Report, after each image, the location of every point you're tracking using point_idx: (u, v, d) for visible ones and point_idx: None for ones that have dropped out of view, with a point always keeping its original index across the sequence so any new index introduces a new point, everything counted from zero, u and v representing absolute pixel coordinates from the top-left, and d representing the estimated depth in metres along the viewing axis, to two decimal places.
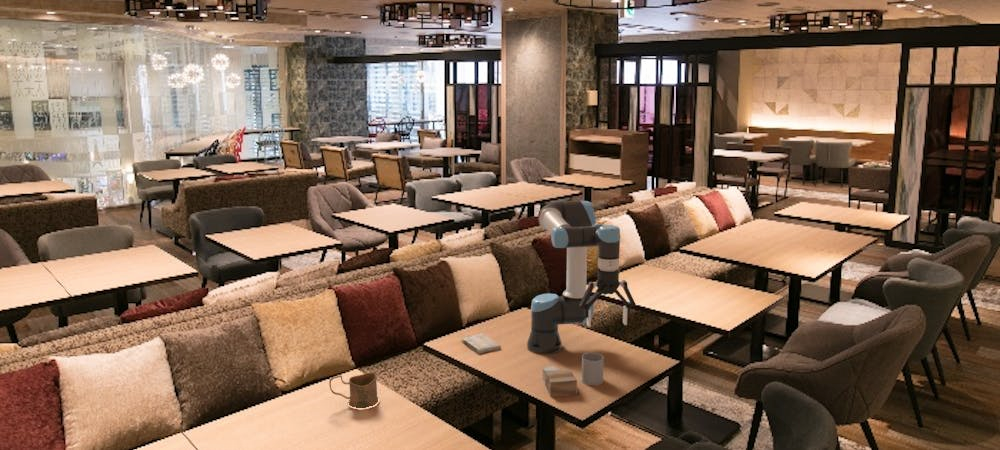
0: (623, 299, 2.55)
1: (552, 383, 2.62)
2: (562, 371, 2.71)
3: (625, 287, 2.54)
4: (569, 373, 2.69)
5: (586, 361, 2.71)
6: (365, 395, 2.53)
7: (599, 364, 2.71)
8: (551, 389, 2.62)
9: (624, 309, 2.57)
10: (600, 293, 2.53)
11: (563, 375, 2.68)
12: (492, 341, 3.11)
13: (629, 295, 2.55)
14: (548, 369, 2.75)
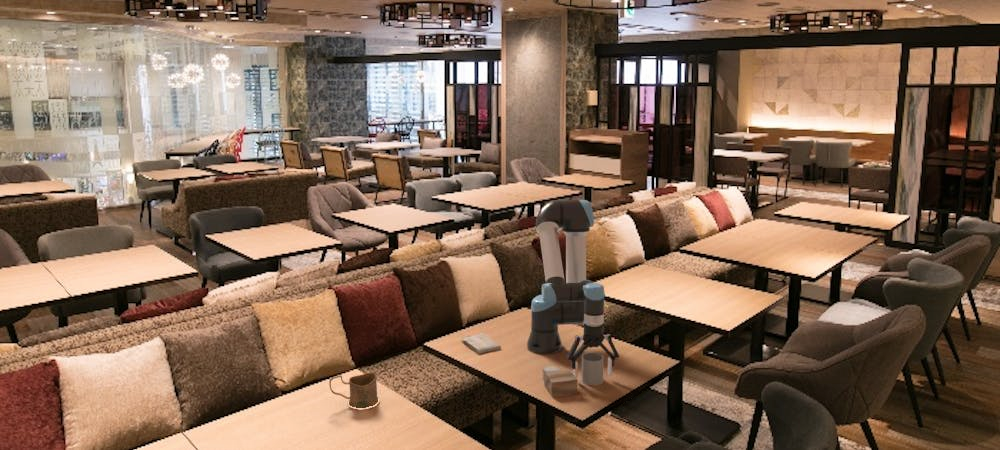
0: (608, 352, 2.73)
1: (553, 383, 2.62)
2: (561, 371, 2.71)
3: (609, 340, 2.72)
4: (569, 373, 2.69)
5: (586, 361, 2.71)
6: (365, 395, 2.53)
7: (599, 364, 2.71)
8: (552, 389, 2.62)
9: (609, 361, 2.75)
10: (586, 346, 2.71)
11: (563, 374, 2.68)
12: (492, 341, 3.11)
13: (613, 348, 2.73)
14: (548, 369, 2.75)
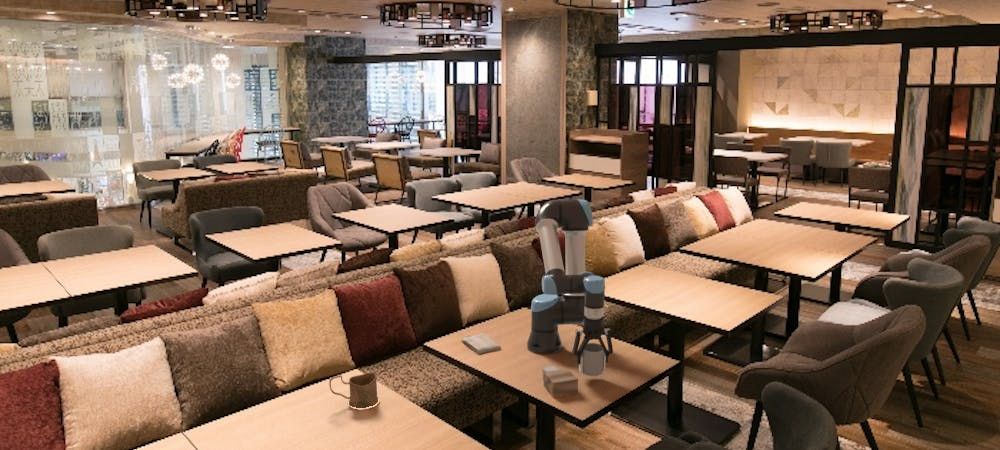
0: (604, 346, 2.73)
1: (555, 383, 2.61)
2: (560, 371, 2.71)
3: (608, 335, 2.72)
4: (568, 373, 2.69)
5: (586, 352, 2.71)
6: (365, 395, 2.53)
7: (599, 354, 2.71)
8: (554, 390, 2.62)
9: (603, 356, 2.75)
10: (587, 340, 2.71)
11: (562, 374, 2.68)
12: (492, 341, 3.11)
13: (610, 343, 2.73)
14: (548, 369, 2.75)
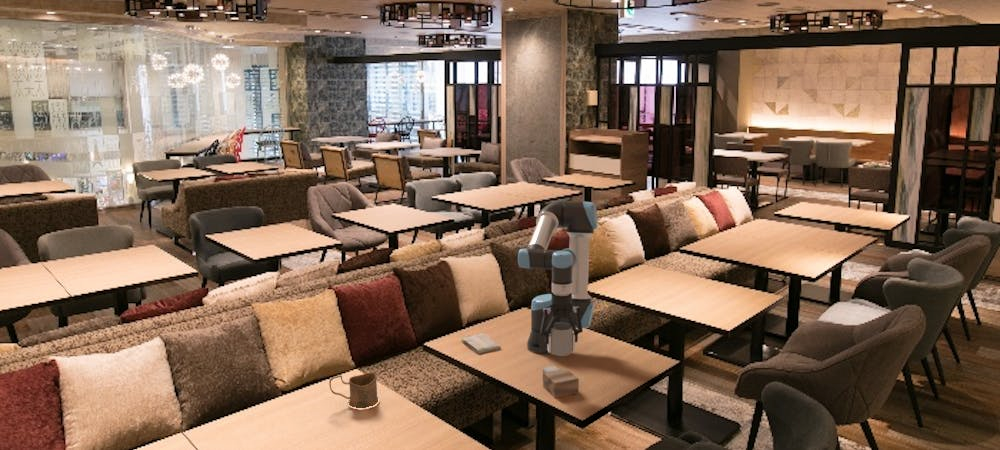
0: (572, 325, 2.62)
1: (556, 384, 2.61)
2: (560, 371, 2.71)
3: (577, 313, 2.61)
4: (568, 373, 2.69)
5: (554, 330, 2.60)
6: (365, 395, 2.53)
7: (567, 333, 2.60)
8: (555, 390, 2.62)
9: (572, 336, 2.64)
10: (555, 318, 2.60)
11: (562, 374, 2.68)
12: (492, 341, 3.11)
13: (579, 321, 2.62)
14: (548, 369, 2.75)
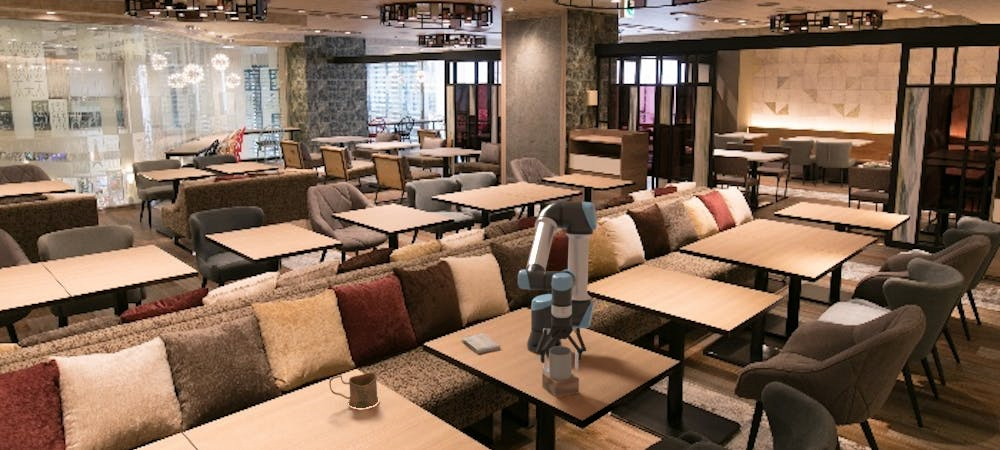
0: (575, 345, 2.64)
1: (557, 384, 2.61)
2: None
3: (577, 333, 2.63)
4: None
5: (553, 355, 2.62)
6: (365, 395, 2.53)
7: (567, 358, 2.62)
8: (556, 390, 2.61)
9: (576, 354, 2.66)
10: (554, 339, 2.62)
11: None
12: (492, 341, 3.11)
13: (581, 341, 2.64)
14: (548, 369, 2.75)
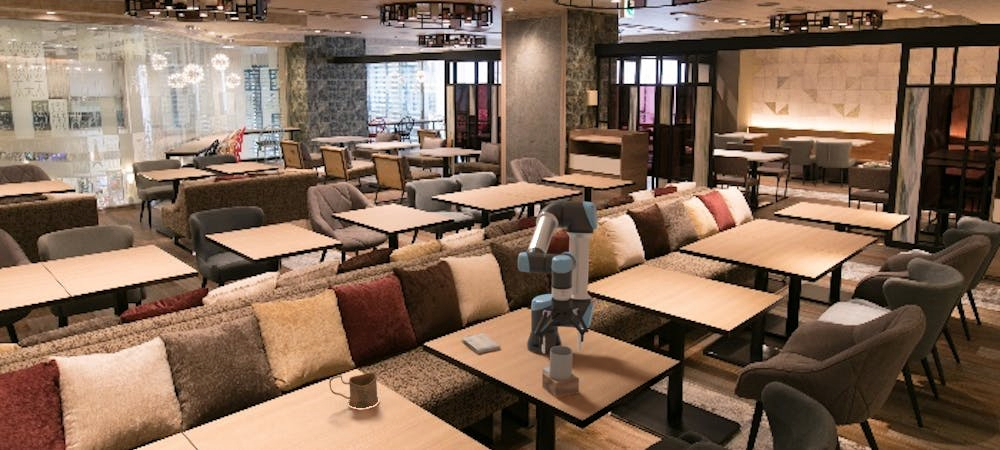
0: (576, 326, 2.63)
1: (557, 384, 2.61)
2: None
3: (578, 315, 2.62)
4: None
5: (553, 355, 2.62)
6: (365, 395, 2.53)
7: (567, 358, 2.62)
8: (556, 390, 2.61)
9: (578, 336, 2.65)
10: (554, 321, 2.60)
11: None
12: (492, 341, 3.11)
13: (582, 322, 2.63)
14: (548, 369, 2.75)
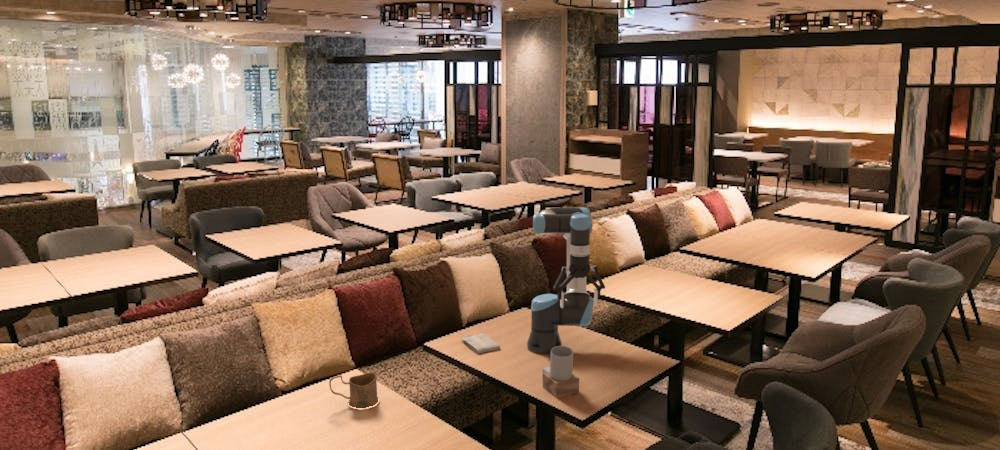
0: (594, 282, 2.75)
1: (558, 384, 2.61)
2: None
3: (595, 271, 2.74)
4: None
5: (553, 356, 2.61)
6: (365, 395, 2.53)
7: (567, 360, 2.61)
8: (557, 390, 2.61)
9: (595, 292, 2.77)
10: (572, 277, 2.73)
11: None
12: (492, 341, 3.11)
13: (599, 279, 2.75)
14: (548, 369, 2.75)
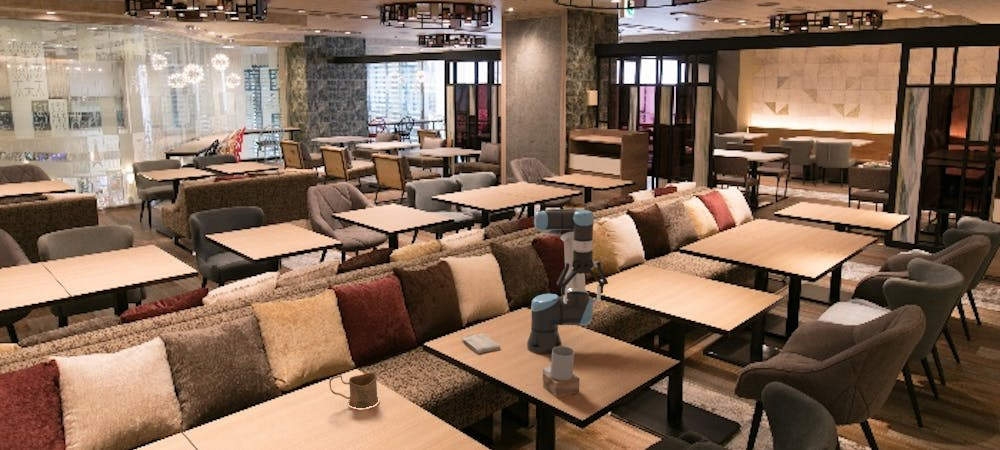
0: (597, 278, 2.78)
1: (558, 384, 2.61)
2: None
3: (598, 267, 2.77)
4: None
5: (553, 354, 2.62)
6: (365, 395, 2.53)
7: (566, 359, 2.61)
8: (557, 390, 2.61)
9: (598, 287, 2.80)
10: (575, 272, 2.75)
11: None
12: (492, 341, 3.11)
13: (602, 274, 2.78)
14: (548, 369, 2.75)
